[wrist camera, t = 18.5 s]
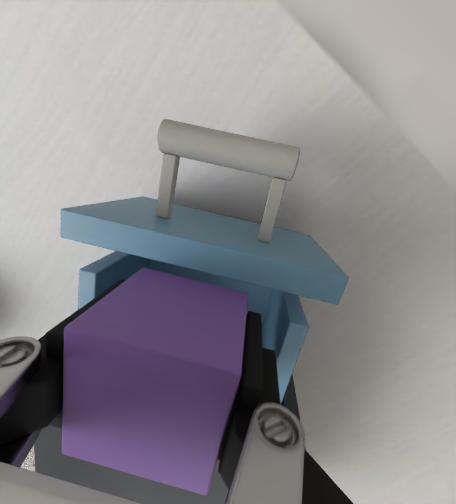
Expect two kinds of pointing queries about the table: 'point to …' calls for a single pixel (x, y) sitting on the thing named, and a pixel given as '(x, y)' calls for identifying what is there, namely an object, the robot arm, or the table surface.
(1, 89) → the table surface
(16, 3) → the table surface
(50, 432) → the small drawer unit
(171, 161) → the blue drawer
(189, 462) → the purple foam cube
